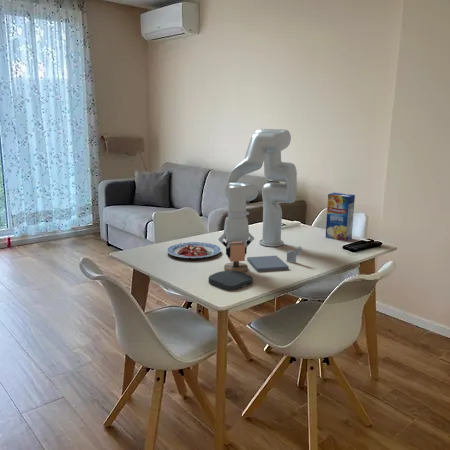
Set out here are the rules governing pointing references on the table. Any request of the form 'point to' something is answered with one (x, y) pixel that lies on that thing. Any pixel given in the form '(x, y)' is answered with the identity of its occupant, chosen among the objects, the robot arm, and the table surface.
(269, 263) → the mat
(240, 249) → the peach cube block
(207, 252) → the ceramic plate
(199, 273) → the table surface
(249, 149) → the robot arm
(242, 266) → the round pedestal stand
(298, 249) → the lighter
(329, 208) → the juice carton
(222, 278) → the media streaming box
